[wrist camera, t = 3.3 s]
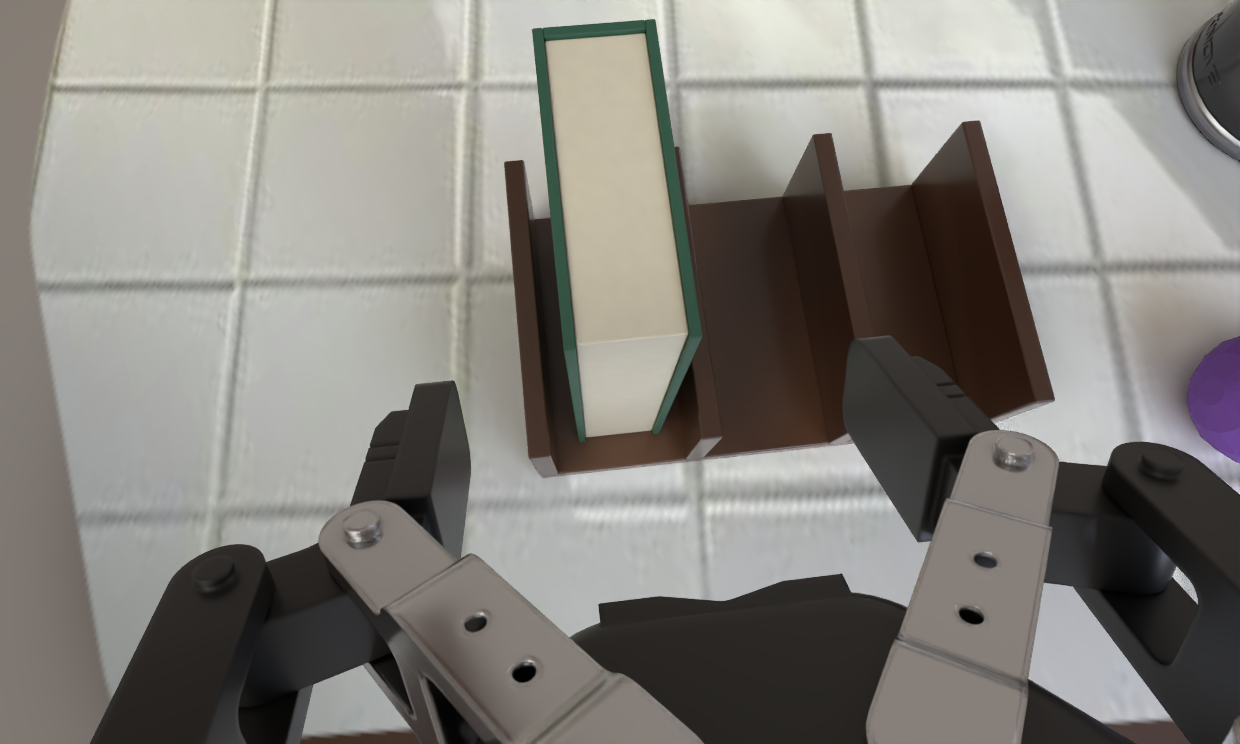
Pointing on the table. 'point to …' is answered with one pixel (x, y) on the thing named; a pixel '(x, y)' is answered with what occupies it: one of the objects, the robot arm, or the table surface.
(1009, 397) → the rack
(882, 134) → the table surface
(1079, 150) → the table surface
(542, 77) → the book
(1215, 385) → the kendama
